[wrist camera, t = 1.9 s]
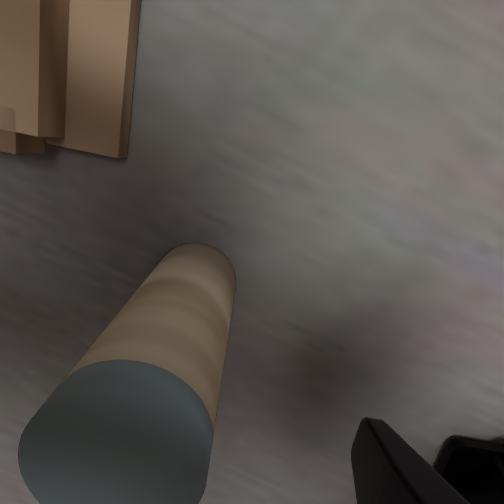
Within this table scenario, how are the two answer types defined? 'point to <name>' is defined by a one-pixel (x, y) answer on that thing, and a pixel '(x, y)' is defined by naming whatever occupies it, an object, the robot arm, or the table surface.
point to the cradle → (67, 74)
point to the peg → (140, 394)
